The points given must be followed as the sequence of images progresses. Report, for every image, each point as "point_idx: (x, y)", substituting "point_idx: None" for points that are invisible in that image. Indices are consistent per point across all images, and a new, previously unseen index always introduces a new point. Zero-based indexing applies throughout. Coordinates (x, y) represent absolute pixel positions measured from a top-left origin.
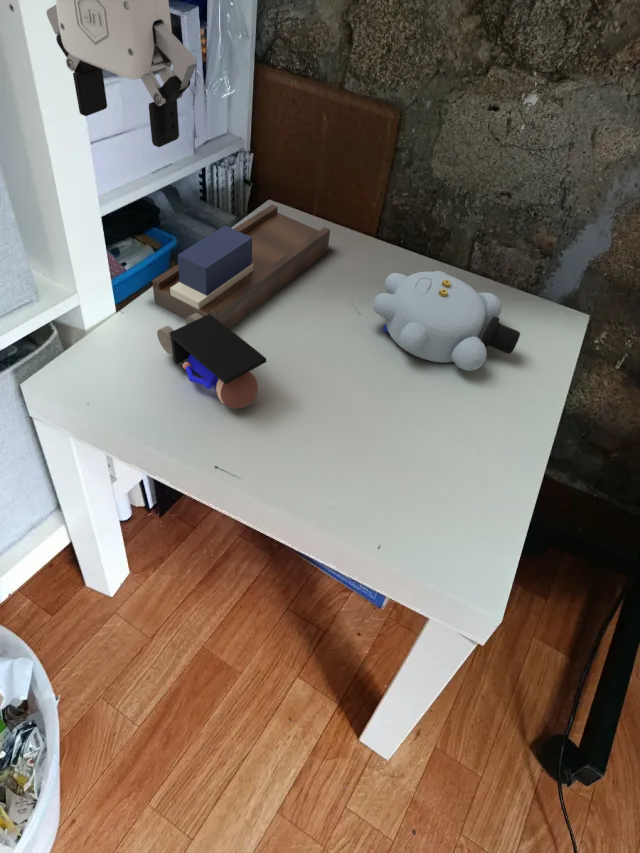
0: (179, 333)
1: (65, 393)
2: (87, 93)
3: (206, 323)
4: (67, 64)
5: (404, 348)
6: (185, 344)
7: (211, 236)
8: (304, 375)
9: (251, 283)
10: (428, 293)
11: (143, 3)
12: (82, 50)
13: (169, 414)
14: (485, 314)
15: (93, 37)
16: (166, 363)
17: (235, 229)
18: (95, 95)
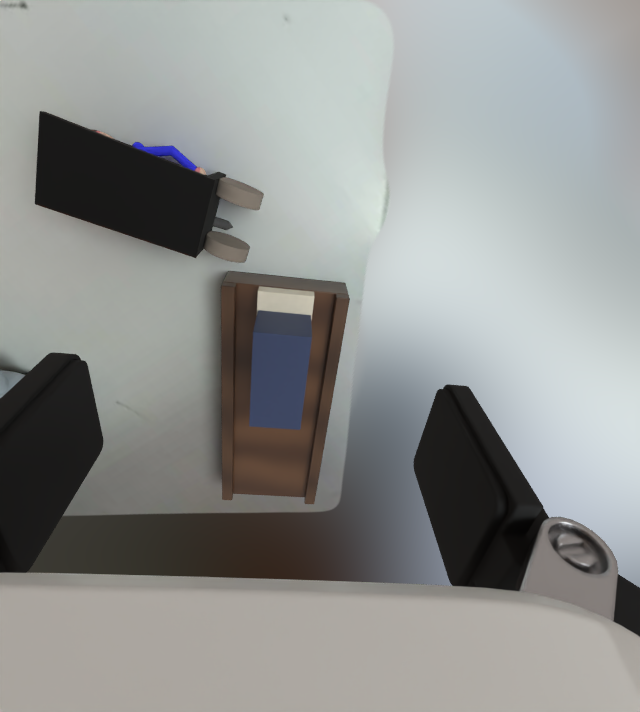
0: (200, 187)
1: (333, 17)
2: (457, 458)
3: (182, 233)
4: (597, 541)
5: (13, 372)
6: (169, 165)
7: (298, 399)
8: (83, 267)
9: (228, 366)
10: None
11: None
12: (424, 689)
13: (167, 76)
14: None
15: None
16: (249, 180)
17: (320, 445)
18: (440, 473)
